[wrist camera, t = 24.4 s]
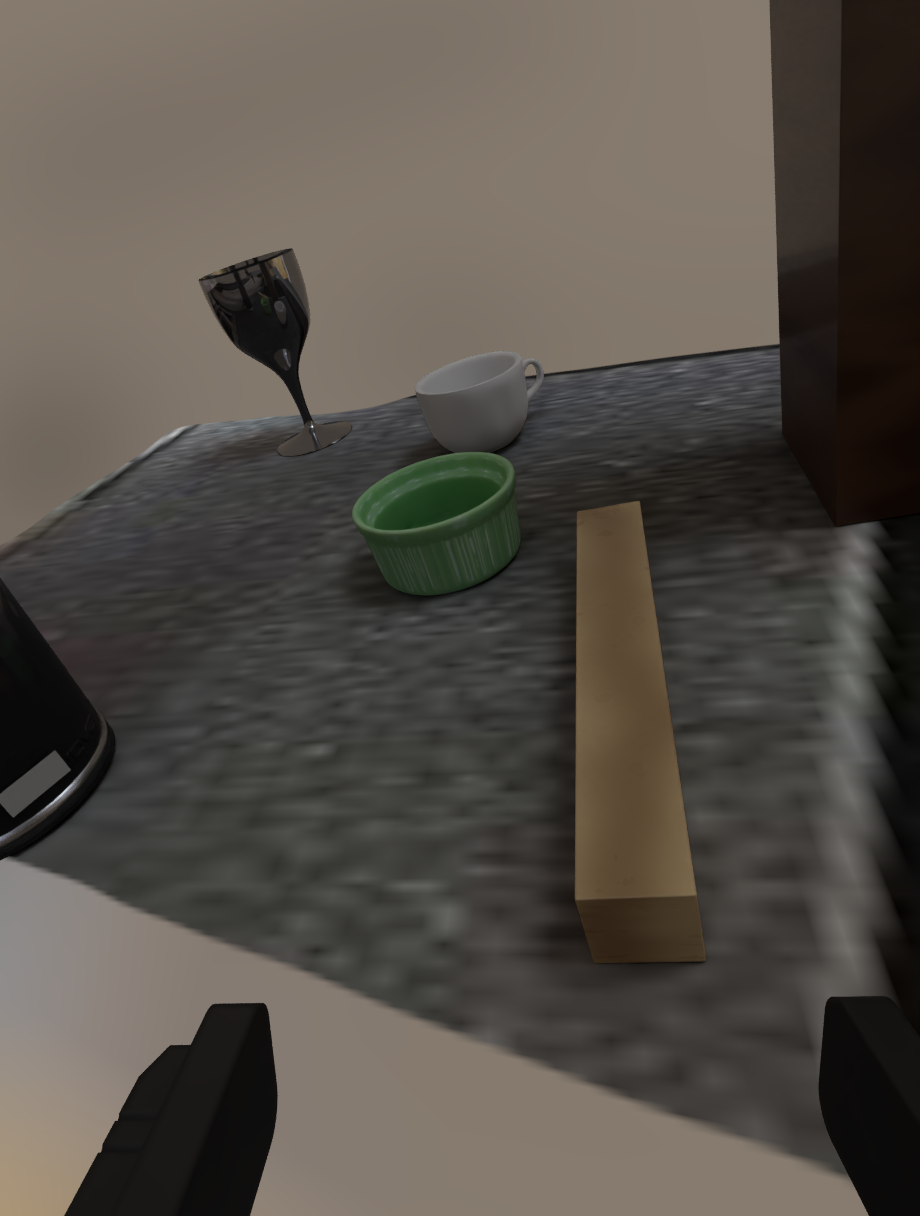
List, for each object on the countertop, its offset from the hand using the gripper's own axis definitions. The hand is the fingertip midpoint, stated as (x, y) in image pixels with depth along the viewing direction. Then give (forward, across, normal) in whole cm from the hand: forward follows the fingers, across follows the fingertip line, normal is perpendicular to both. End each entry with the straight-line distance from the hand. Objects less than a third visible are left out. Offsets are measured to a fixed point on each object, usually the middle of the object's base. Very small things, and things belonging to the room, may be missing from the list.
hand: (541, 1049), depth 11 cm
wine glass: (+59, +16, -9) cm, 62 cm away
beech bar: (+18, -5, +2) cm, 19 cm away
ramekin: (+32, +2, -2) cm, 32 cm away
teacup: (+47, -1, -9) cm, 48 cm away
